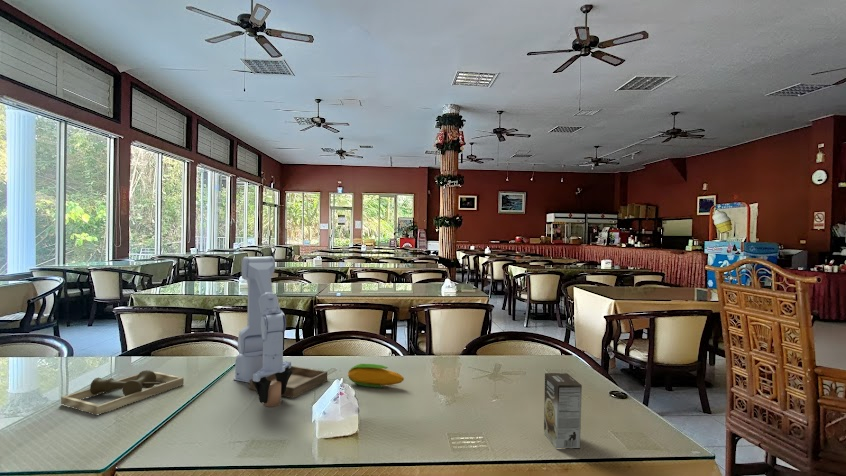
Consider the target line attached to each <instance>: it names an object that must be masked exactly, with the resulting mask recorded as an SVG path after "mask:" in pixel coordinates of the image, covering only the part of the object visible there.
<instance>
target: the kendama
mask: <svg viewBox="0 0 846 476" xmlns="http://www.w3.org/2000/svg"><path fill="white" fill-rule="evenodd" d="M152 371H153V370H148V369H146V370H142V371H140V372H139V373H137V374H138V376H137V380H131V381H127V382H122V381H116V379H114V378H112V377H109V378H108V379H104V378H103V379H102V377H95V378H94V379H93V380H92V381H91V383H90V386H89V388H90V391H91V393H92V394H94V395H95V394H98V393H99V392H106V394H107V393H108V394H109V393H111V392H112V391H115V390H120V389H122V394H123V395H124V396H127V395H130V394H133V393H136V392H140V391H142V390H143V389H148V388H151V387H154V386H157V385H160V384H162V383H161V382H160V381H156V380H157V378H156V375H155V373H154V372H155V371H154V372H152Z"/></svg>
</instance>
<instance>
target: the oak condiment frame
mask: <svg viewBox="0 0 846 476" xmlns="http://www.w3.org/2000/svg"><path fill="white" fill-rule="evenodd" d="M151 371H152V372H154V373H155V375H156V378H157V380H158V381H157V382H160V381H162V383H161V384H159V385H154V386H153V387H151V388H144V389H142V391H140V392H136V393H133V394H130V395H127V396H125V395H124V396H122V397H119V398H116V399H113V400H110V401H107V402H104V403H101V404H97V403H94V402H90V401H86V400H80V399H83V398H86V397H90V396H93V397H95V396H94V394H92V393H91V391H90V387H89V388H87V389H83V390H79V391H76V392H73V393H70V394H67V395H63V396H61V397H60V402H61V403H60V405H61V404H64V405H67V406H70V407H74V408H77V409H80V410H83V411H87V412H90V413H93V414H92V415H94V414H100V413H104V412H107V411H109V412H111V411H110V410H112V411H114V410H113V409H115V410H117V409H116V408H118V409H120V408H119V407H121V408H123V407H125V406H124V405H126V406H128V405H127V404H129V405H131V404H130V403H132V404H134V403H133V402H135V403H137V402H139V401H138V400H140V401H142V400H141V399H143V400H145V399H144V398H146V399H148V398H147V397H149V396H151V397H153V396H152V395H154V396H156V395H155V394H157V395H159V394H158V393H160V394H162V393H165V392H167V390H168V391H170V389H171V390H173V389H172V388H174V389H176V388H179V387H182V386H184V385H183V384H184V380H185V379H184V376H183V377H182V376H177V375H172V374H169V373H168V374H167V373H164V372H158V371H153V370H151ZM138 374H139V373H136V374H133V375H130V376H127V377H123V378H120V379H117V380H116V379H115V381H122V382H127V381H131V380H137V376H138ZM165 382H166V383H165ZM181 385H182V386H181ZM178 386H179V387H178ZM175 387H176V388H175ZM164 391H165V392H164ZM161 392H162V393H161ZM100 393H102V394H104V393H103V392H99V393H98V394H99V395H101V394H100ZM95 395H96V396H98V395H97V394H95ZM90 398H91V397H90ZM149 398H150V397H149ZM136 401H137V402H136ZM122 406H123V407H122ZM83 411H82V412H83ZM90 413H89V414H90ZM107 413H108V412H107ZM104 414H105V413H104Z"/></svg>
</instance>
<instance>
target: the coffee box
mask: <svg viewBox="0 0 846 476" xmlns="http://www.w3.org/2000/svg"><path fill="white" fill-rule="evenodd" d="M582 388H583V385H582V384H581V383H580V382H578V380H576V379H575V378H573V377H572V376H571V375H570V374H569V373H564V372H563V373H559V372H546V373H544V400H543V401H544V407H543V408H544V411H543V412H544V413H543V414H544V415H543V433H544V435H545V436H546V437H548V438H547V439H548V440H549V441H551V442H552V443H553V444H552V443H551V442H550V443H551V444H552V445H553V447H554V446H555V447H556V448H580V449H581V421H582V399H583V398H582V396H583V392H582V390H583V389H582ZM555 447H554V448H555ZM556 448H555V449H556Z"/></svg>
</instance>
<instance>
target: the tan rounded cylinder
mask: <svg viewBox="0 0 846 476" xmlns="http://www.w3.org/2000/svg"><path fill="white" fill-rule="evenodd" d="M281 404H282V395H281V382H280V381H271V383H270V386H269V390H268V400H267V403H263V406H264V407H268V408H269V407H272V408H273V407H277V406H279V405H281Z"/></svg>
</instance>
